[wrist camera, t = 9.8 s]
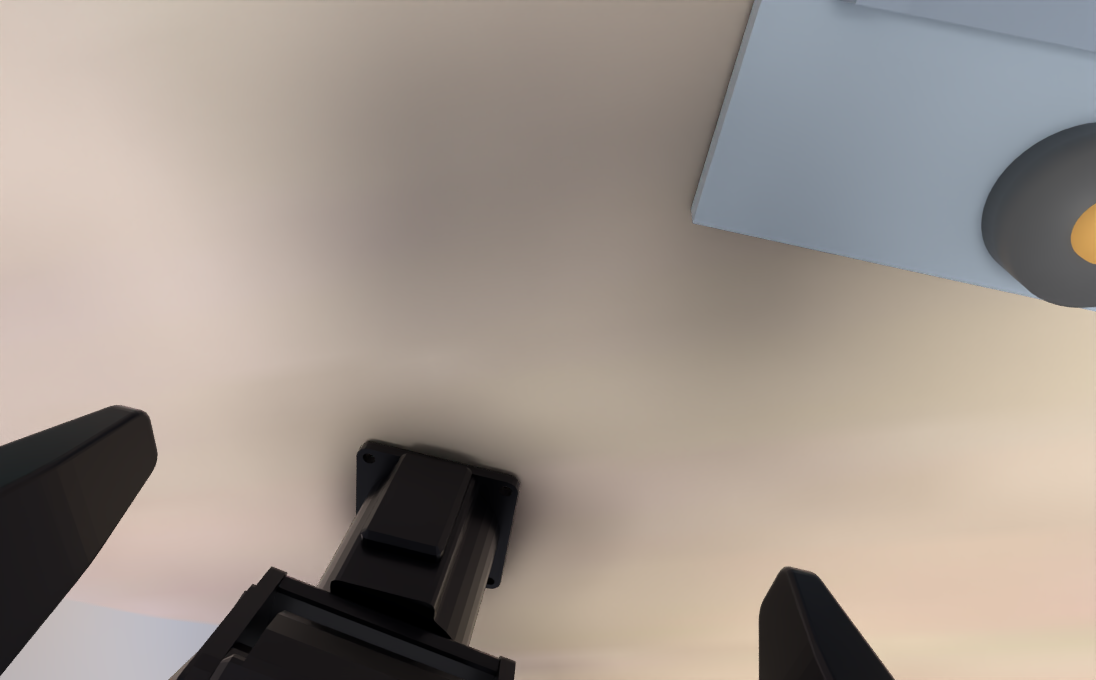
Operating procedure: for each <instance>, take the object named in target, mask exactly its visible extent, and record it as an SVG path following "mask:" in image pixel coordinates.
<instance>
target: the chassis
mask: <svg viewBox="0 0 1096 680" xmlns="http://www.w3.org/2000/svg"><path fill="white" fill-rule="evenodd" d="M691 214H692V223H694V224H698V225H703V226H707V227H712V228H716V229H721V230H726V231H730V232H735V233H739V234H744V235H749V236H753V237H758V238H762V239H767V240H771V241H776V242H781V243H785V244H790V245H794V246H799V247H803V248H808V249H813V250H817V251H822V252H826V253H831V254H835V255H840V256H845V257H849V258H854V259H858V260H863V261H867V262H872V263H877V264H881V265H886V266H890V267H895V268H900V269H904V270H909V271H913V272H918V273H922V274H927V275H932V276H936V277H941V278H945V279H950V280H954V281H959V282H964V283H968V284H973V285H977V286H982V287H986V288H991V289H996V290H1000V291H1005V292H1009V293H1014V294H1018V295H1023V296H1028V297H1032V298H1037V299H1041V300H1045V301H1047V302H1049V303H1053V304H1056V305H1060V306H1066V307H1075V308H1083V309H1087V310H1092V311H1096V0H754V3H753V6H752V10H751V13H750V16H749V20H748V23H747V26H746V29H745V33H744V36H743V39H742V43H741V46H740V49H739V52H738V56H737V59H736V62H735V66H734V69H733V72H732V75H731V79H730V82H729V85H728V89H727V92H726V95H725V98H724V102H723V105H722V108H721V112H720V115H719V118H718V121H717V125H716V128H715V131H714V135H713V138H712V141H711V144H710V148H709V151H708V154H707V158H706V161H705V164H704V168H703V171H702V174H701V177H700V181H699V184H698V187H697V191H696V194H695V197H694V200H693V204H692V207H691Z"/></svg>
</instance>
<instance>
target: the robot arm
mask: <svg viewBox="0 0 1096 680" xmlns="http://www.w3.org/2000/svg"><path fill="white" fill-rule="evenodd" d="M369 454H371V455H373V456H374V457H373V456H370V455H369ZM157 455H158V453H157V448H156V443H155V439H154V434H153V429H152V425H151V420H150V417H149V416H148V414H147V413H146V412H144V411H142V410H139V409H135V408H131V407H126V406H122V405H114V406H110V407H107V408H104V409H101V410H99V411H96V412H93V413H90V414H88V415H85V416H82V417H79V418H77V419H74V420H71V421H68V422H66V423H63V424H60V425H57V426H55V427H52V428H49V429H46V430H44V431H41V432H38V433H35V434H32V435H30V436H27V437H24V438H21V439H19V440H16V441H13V442H10V443H8V444H5V445H2V446H0V676H1V674H2V673H3V672H4V671H5V670H6V668H7V667H8V666H9V665H10V663H11V662H12V661H13V659H14V658H15V657H16V656H17V655H18V654H19V652H20V651H21V650H22V649H23V647H24V646H25V645H26V644H27V642H28V641H29V640H30V639H31V638H32V636H33V635H34V634H35V633H36V631H37V630H38V629H39V627H40V626H41V625H42V624H43V623H44V622H45V620H46V619H47V618H48V617H49V615H50V614H51V613H52V612H53V610H54V609H55V608H56V607H57V606H58V604H59V603H60V602H61V601H62V599H63V598H64V597H65V596H66V594H67V593H68V592H69V591H70V590H71V588H72V587H73V586H74V585H75V583H76V582H77V581H78V580H79V578H80V577H81V576H82V574H83V573H84V572H85V571H86V569H87V568H88V567H89V565H90V564H91V563H92V561H93V560H94V558H95V557H96V556H97V554H98V553H99V551H100V550H101V548H102V547H103V545H104V544H105V542H106V541H107V539H108V538H109V536H110V535H111V533H112V532H113V530H114V529H115V527H116V526H117V524H118V523H119V521H120V520H121V518H122V517H123V515H124V514H125V512H126V511H127V509H128V508H129V506H130V505H131V503H132V502H133V500H134V499H135V497H136V496H137V494H138V493H139V491H140V490H141V488H142V487H143V485H144V484H145V482H146V481H147V479H148V478H149V476H150V475H151V473H152V471H153V470H154V467H155V465H156V462H157ZM504 487H508V488H510V489H506V488H504ZM519 490H520V483H519V481H518V480H517V479H516V478H515V477H513V476H510V475H507V474H503V473H499V472H495V471H490V470H486V469H482V468H478V467H474V466H470V465H465V464H461V463H457V462H453V461H449V460H445V459H440V458H436V457H432V456H428V455H424V454H420V453H415V452H411V451H407V450H403V449H399V448H395V447H390V446H386V445H382V444H378V443H374V442H367V443H364V444H363V445H362V446H361V448H360V449H359V451H358V453H357V477H356V517H355V519H354V521H353V522H352V524H351V526H350V528H349V530H348V531H347V533H346V535H345V537H344V539H343V540H342V542H341V544H340V546H339V548H338V549H337V551H336V553H335V555H334V557H333V558H332V560H331V562H330V564H329V566H328V567H327V569H326V571H325V573H324V575H323V576H322V578H321V580H320V582H319V584H318V585H317V587H315V586H312V585H310V584H307V583H305V582H302V581H300V580H297V579H294V578H292V577H289V576H287V572H285V571H282V570H280V569H277V568H274V567H271V568H270V569H269V570H268V571H267V573H266V574H265V575H264V576H263V578H262V579H261V580H260V581H259V583H258V584H257V585H254V584H252V585H251V587H250V588H249V589H248V590H247V591H244V593H243V594H242V596H241V597H240V599H239V600H238V602H237V603H236V605H235V606H234V608H233V609H232V610H231V611H230V613H229V614H228V615H227V616H226V618H225V619H224V620H223V621H222V623H221V624H220V625H219V626H218V627H217V629H216V630H215V631H214V632H213V634H212V635H211V636H210V638H209V639H208V640H207V641H206V642H205V644H204V645H203V646H202V647H201V649H200V650H199V651H198V652H197V653H196V654H195V655H194V656H193V657H192V658H191V659H190V660H188V662H186V663H185V664H184V665H183V666H182V667H181V668H180V669H179V670H178V671H177V672H176V673H175V674H174V675H173V676H172V677H171V678H170V679H169V680H514V674H515V664H516V662H515V661H513V660H510V659H508V658H505V657H503V656H500V657H499V658H497V657H495V656H492V655H490V654H487V653H484V652H482V651H479V650H477V649H474V648H472V647H469V643H470V640H471V636H472V633H473V629H474V626H475V622H476V619H477V615H478V611H479V608H480V604H481V601H482V597H483V594H484V590H485V588H490V589H493V588H497V587H498V586H499V585H500V582H501V578H502V574H503V569H504V564H505V559H506V554H507V549H508V544H509V539H510V534H511V529H512V524H513V520H514V515H515V510H516V505H517V500H518V495H519ZM759 680H895V679H894V678H893V676H892V675H891V674H890V672H889V671H888V670H887V668H886V667H885V666H884V664H883V663H882V661H881V660H880V659H879V657H878V656H877V655H876V653H875V652H874V651H873V649H872V648H871V647H870V645H869V644H868V643H867V641H866V640H865V638H864V637H863V636H862V634H861V633H860V632H859V630H858V629H857V628H856V626H855V625H854V624H853V622H852V621H851V620H850V618H849V617H848V615H847V614H846V613H845V611H844V610H843V609H842V607H841V606H840V605H839V603H838V602H837V601H836V599H835V598H834V596H833V595H832V594H831V592H830V591H829V590H828V588H827V587H826V586H825V584H824V583H823V582H822V580H821V579H820V578H819V577H818V576H817V575H816V574H815V573H813V572H810V571H806V570H802V569H798V568H793V567H784V568H782V569H781V570H780V572H779V573H778V575H777V577H776V579H775V580H774V582H773V584H772V586H771V587H770V589H769V591H768V593H767V594H766V596H765V598H764V600H763V602H762V604H761V607H760V612H759Z"/></svg>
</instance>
